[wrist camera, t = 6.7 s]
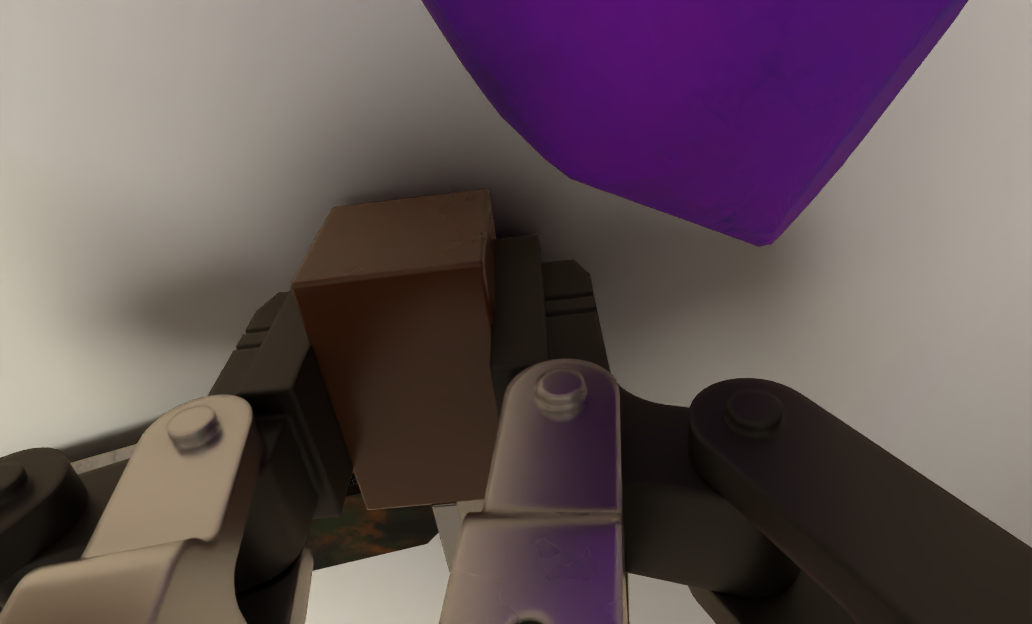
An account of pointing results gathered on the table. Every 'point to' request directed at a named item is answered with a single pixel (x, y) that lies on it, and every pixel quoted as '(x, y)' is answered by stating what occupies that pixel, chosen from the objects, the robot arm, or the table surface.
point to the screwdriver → (408, 347)
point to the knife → (337, 523)
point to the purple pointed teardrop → (696, 92)
